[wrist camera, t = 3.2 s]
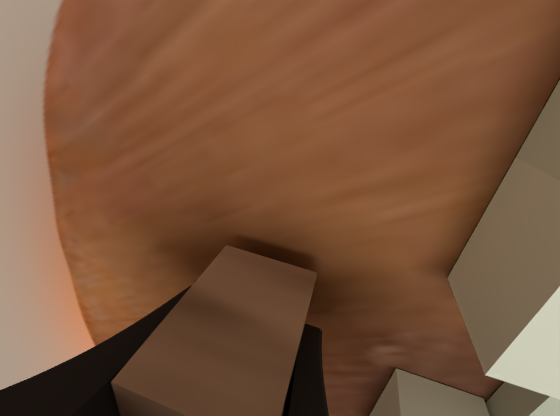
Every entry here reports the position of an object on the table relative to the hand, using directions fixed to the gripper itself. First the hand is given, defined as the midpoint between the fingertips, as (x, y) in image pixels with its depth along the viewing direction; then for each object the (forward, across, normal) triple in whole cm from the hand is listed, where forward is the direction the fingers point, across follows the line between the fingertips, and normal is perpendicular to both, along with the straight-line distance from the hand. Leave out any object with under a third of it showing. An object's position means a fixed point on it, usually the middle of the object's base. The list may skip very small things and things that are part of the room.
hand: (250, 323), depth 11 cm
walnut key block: (+2, 0, 0) cm, 2 cm away
